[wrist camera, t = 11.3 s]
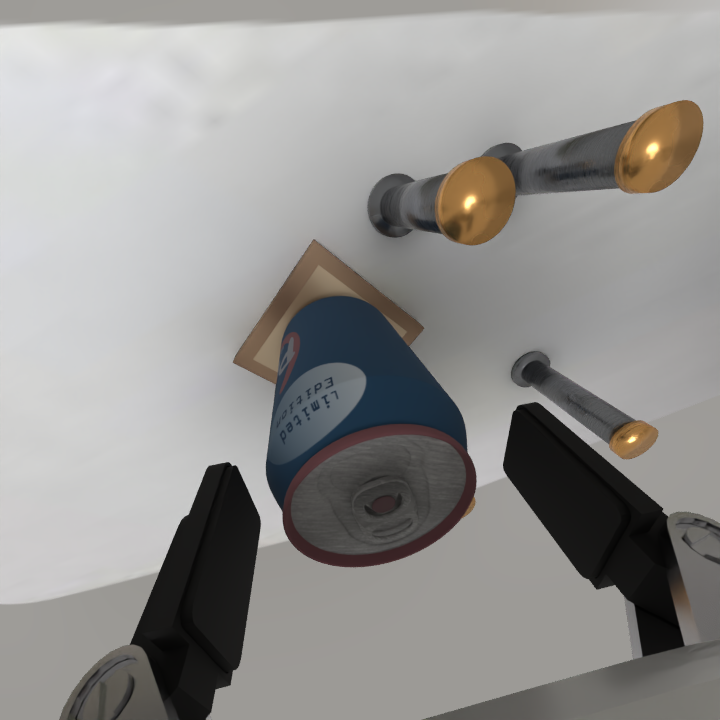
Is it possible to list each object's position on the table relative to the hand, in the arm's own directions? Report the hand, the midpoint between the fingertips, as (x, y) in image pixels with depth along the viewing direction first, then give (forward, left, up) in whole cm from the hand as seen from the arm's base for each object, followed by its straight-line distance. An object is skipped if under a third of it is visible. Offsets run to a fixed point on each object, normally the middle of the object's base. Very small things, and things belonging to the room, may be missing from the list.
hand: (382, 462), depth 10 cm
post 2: (-13, +2, -12) cm, 18 cm away
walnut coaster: (+1, 0, -12) cm, 11 cm away
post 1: (-8, -2, -12) cm, 14 cm away
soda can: (0, 0, -11) cm, 11 cm away
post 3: (-7, +15, -12) cm, 20 cm away
